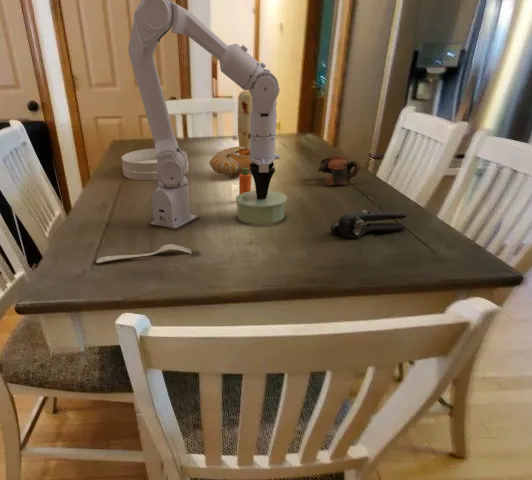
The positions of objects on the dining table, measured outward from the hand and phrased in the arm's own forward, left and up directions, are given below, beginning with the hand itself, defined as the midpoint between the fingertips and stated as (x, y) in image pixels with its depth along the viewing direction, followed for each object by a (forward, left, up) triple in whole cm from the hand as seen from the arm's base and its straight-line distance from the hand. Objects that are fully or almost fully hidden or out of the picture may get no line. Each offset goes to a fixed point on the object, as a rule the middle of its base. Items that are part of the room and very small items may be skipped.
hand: (261, 196), depth 112 cm
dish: (+26, +53, -5) cm, 59 cm away
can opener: (+1, -27, -5) cm, 28 cm away
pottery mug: (+38, -6, -5) cm, 39 cm away
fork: (-33, +10, -5) cm, 35 cm away
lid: (0, 0, -1) cm, 1 cm away
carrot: (+8, +9, -5) cm, 13 cm away
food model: (+62, +38, -5) cm, 73 cm away
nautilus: (+34, +24, -5) cm, 42 cm away
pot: (0, 0, -5) cm, 5 cm away
